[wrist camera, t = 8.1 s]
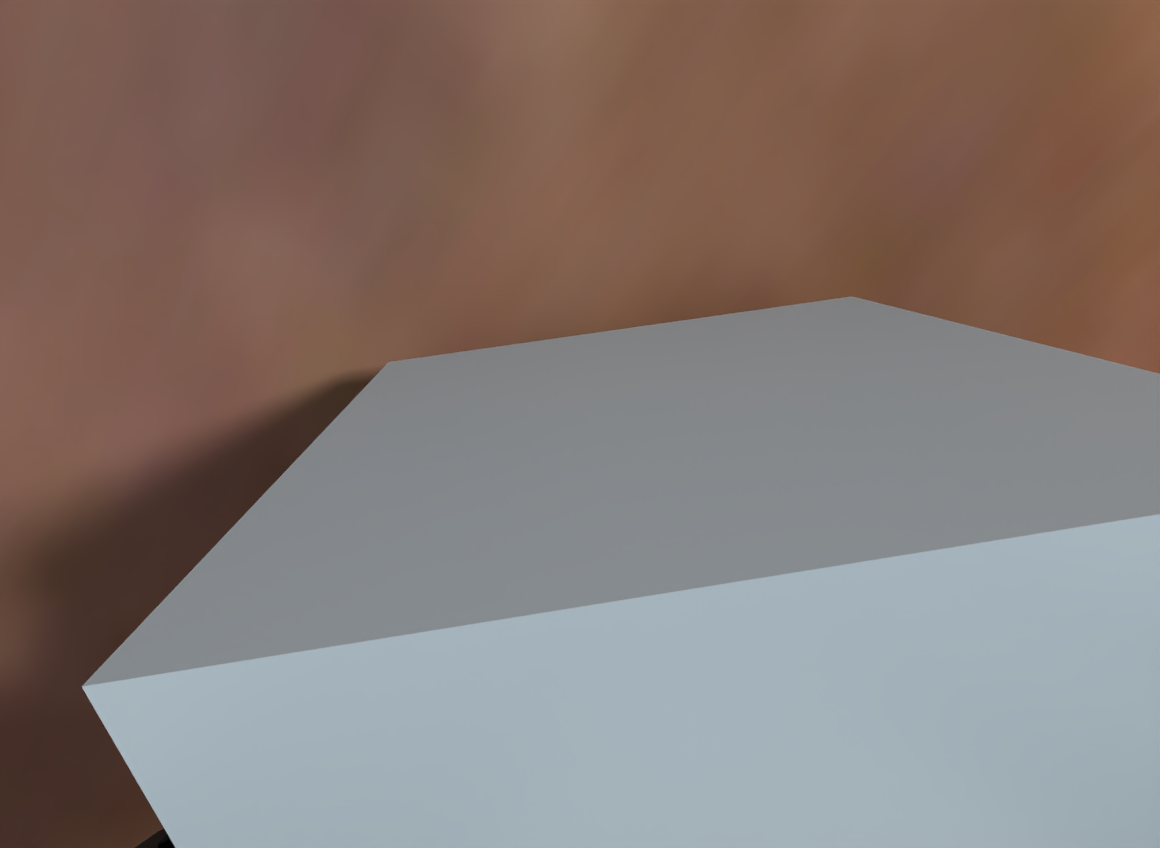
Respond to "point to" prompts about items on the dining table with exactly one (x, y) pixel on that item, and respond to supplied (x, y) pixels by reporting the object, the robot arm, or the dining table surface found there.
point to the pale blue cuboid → (680, 603)
